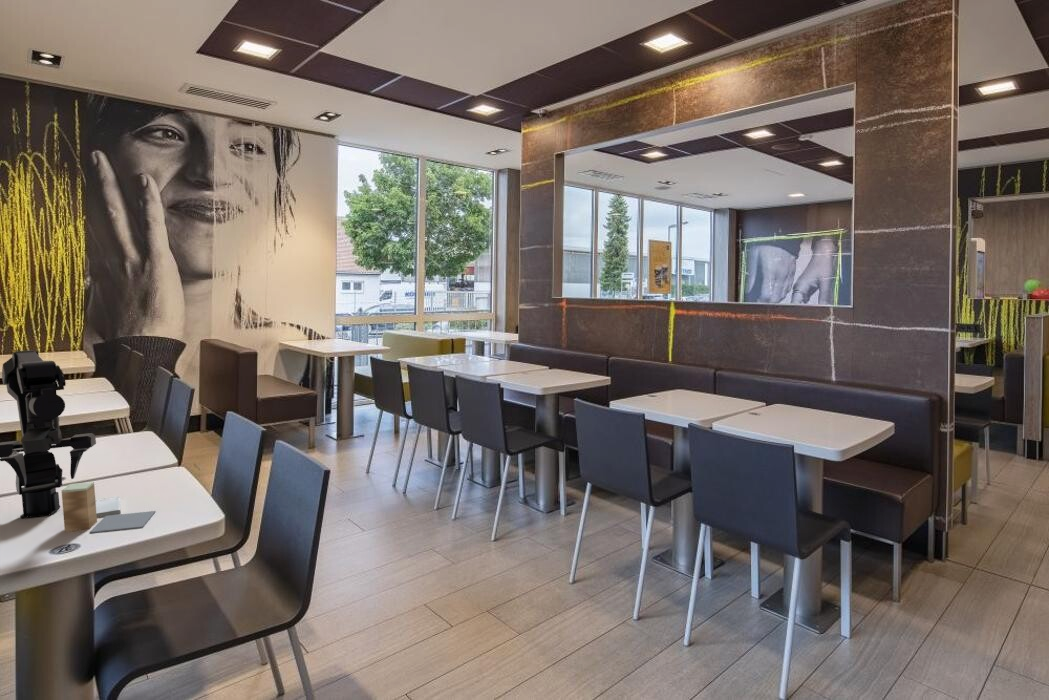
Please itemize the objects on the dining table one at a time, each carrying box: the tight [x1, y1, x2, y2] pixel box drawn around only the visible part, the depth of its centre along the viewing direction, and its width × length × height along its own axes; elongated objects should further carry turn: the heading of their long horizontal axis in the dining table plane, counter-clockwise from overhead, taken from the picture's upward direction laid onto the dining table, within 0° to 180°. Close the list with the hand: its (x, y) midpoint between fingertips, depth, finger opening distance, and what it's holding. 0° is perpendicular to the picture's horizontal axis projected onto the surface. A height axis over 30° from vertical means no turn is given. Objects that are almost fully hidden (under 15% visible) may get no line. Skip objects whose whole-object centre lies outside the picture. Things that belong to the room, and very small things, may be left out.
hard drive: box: [95, 496, 122, 519], centre depth 161 cm, size 2×8×12 cm
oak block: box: [61, 481, 98, 533], centre depth 149 cm, size 5×5×10 cm
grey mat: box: [89, 510, 156, 534], centre depth 152 cm, size 11×11×1 cm
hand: (49, 481), depth 146 cm, fingers open, 9 cm apart
